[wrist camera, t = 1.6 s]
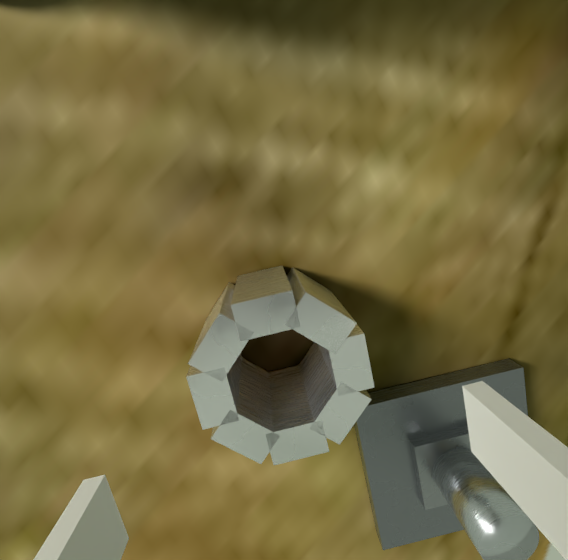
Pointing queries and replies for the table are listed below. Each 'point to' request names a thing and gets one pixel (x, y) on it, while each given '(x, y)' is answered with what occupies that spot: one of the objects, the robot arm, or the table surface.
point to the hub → (285, 382)
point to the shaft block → (440, 465)
